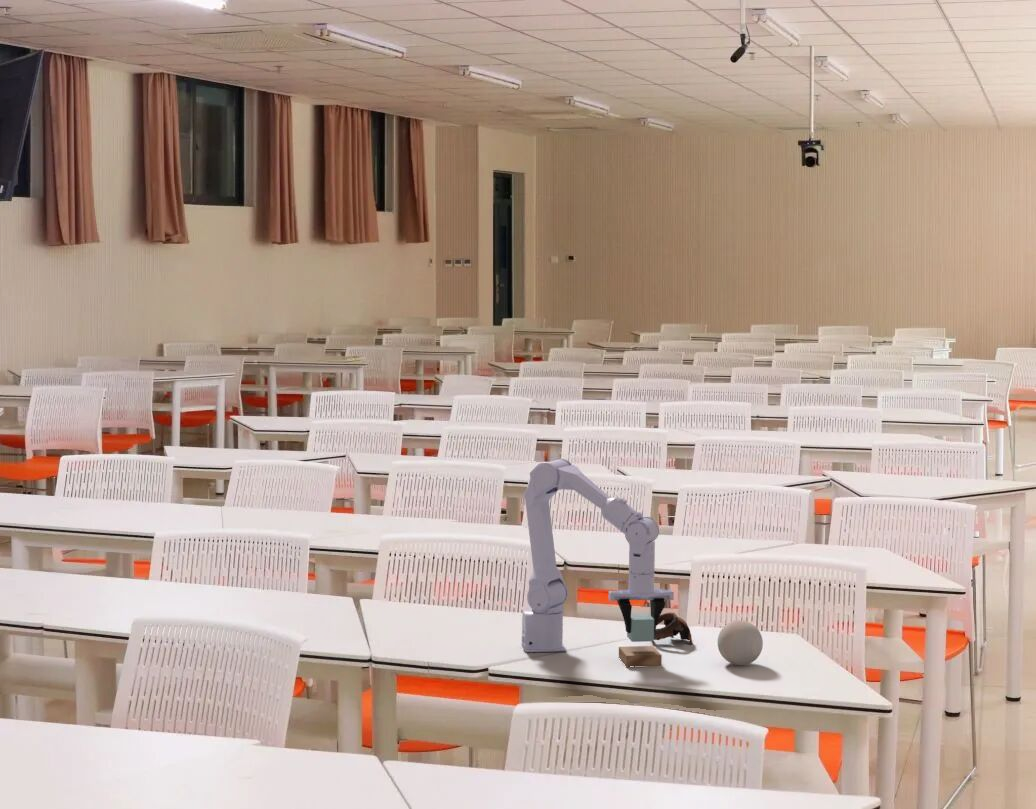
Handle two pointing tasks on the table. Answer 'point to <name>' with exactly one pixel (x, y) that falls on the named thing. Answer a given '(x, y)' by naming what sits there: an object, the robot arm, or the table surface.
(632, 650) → the slab
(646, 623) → the cube
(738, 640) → the grey sphere
